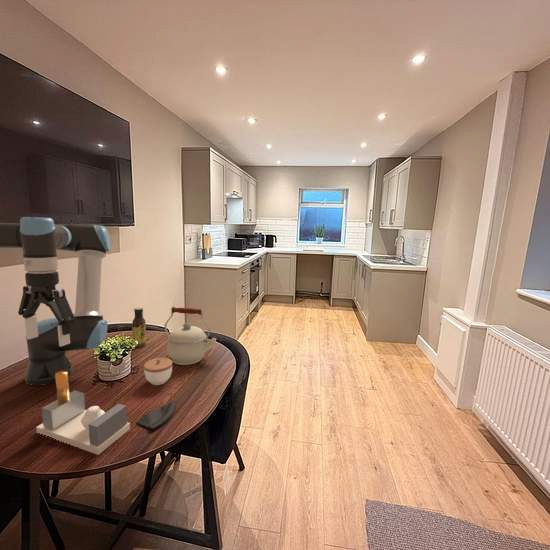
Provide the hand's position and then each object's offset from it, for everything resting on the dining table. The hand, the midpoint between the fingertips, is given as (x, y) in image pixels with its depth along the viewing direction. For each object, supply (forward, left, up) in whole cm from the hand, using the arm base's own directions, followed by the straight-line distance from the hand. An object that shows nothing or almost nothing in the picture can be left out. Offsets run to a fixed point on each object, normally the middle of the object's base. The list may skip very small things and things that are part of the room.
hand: (48, 341), depth 86 cm
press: (+12, 0, -27) cm, 29 cm away
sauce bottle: (-20, +56, -27) cm, 66 cm away
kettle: (+13, +54, -27) cm, 61 cm away
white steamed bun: (+16, 0, -25) cm, 30 cm away
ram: (+4, 0, -24) cm, 25 cm away
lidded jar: (+13, +32, -27) cm, 43 cm away
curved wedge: (+29, +13, -27) cm, 42 cm away
